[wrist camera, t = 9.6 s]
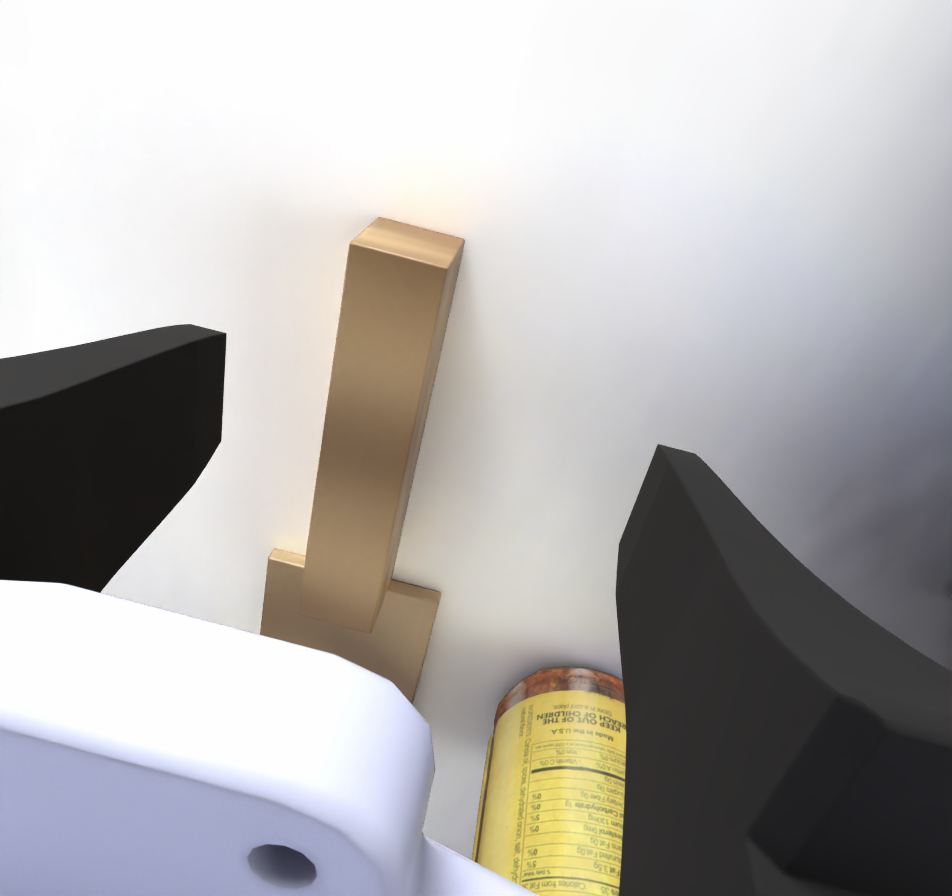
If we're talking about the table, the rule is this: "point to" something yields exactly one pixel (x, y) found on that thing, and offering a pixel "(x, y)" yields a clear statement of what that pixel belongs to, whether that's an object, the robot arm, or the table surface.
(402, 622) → the tan upright bar
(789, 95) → the table surface
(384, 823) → the robot arm
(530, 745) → the sauce bottle
